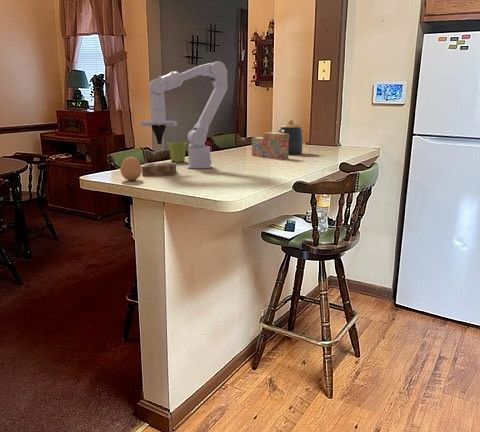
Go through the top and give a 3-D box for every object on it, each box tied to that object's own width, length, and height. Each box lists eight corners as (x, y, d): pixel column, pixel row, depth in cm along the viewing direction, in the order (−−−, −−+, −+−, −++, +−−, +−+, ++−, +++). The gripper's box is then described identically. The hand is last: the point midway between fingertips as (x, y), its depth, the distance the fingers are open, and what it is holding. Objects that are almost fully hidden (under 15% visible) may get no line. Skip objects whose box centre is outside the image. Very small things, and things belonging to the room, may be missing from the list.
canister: (303, 154, 244) (304, 120, 240) (278, 154, 245) (279, 120, 240) (301, 152, 257) (301, 119, 253) (277, 152, 257) (277, 119, 253)
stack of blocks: (251, 155, 242) (251, 131, 239) (260, 155, 246) (260, 131, 243) (279, 159, 226) (279, 133, 223) (288, 158, 229) (289, 133, 226)
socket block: (176, 171, 189) (175, 162, 189) (174, 175, 180) (173, 165, 179) (146, 171, 189) (145, 162, 188) (142, 175, 179) (141, 166, 178)
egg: (123, 183, 164) (121, 158, 162) (119, 179, 170) (118, 156, 168) (144, 181, 167) (143, 157, 165) (139, 178, 173) (138, 155, 171)
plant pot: (163, 162, 217) (162, 143, 215) (174, 160, 225) (173, 141, 223) (181, 163, 213) (181, 144, 211) (191, 161, 222) (190, 142, 220)
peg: (170, 171, 186) (170, 162, 186) (169, 173, 182) (169, 164, 182) (160, 171, 186) (159, 162, 185) (159, 173, 182) (158, 164, 181)
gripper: (177, 109, 194) (178, 142, 198) (141, 109, 194) (143, 143, 197) (175, 110, 188) (176, 144, 191) (138, 110, 187) (140, 144, 190)
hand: (159, 143), depth 193 cm, fingers closed
